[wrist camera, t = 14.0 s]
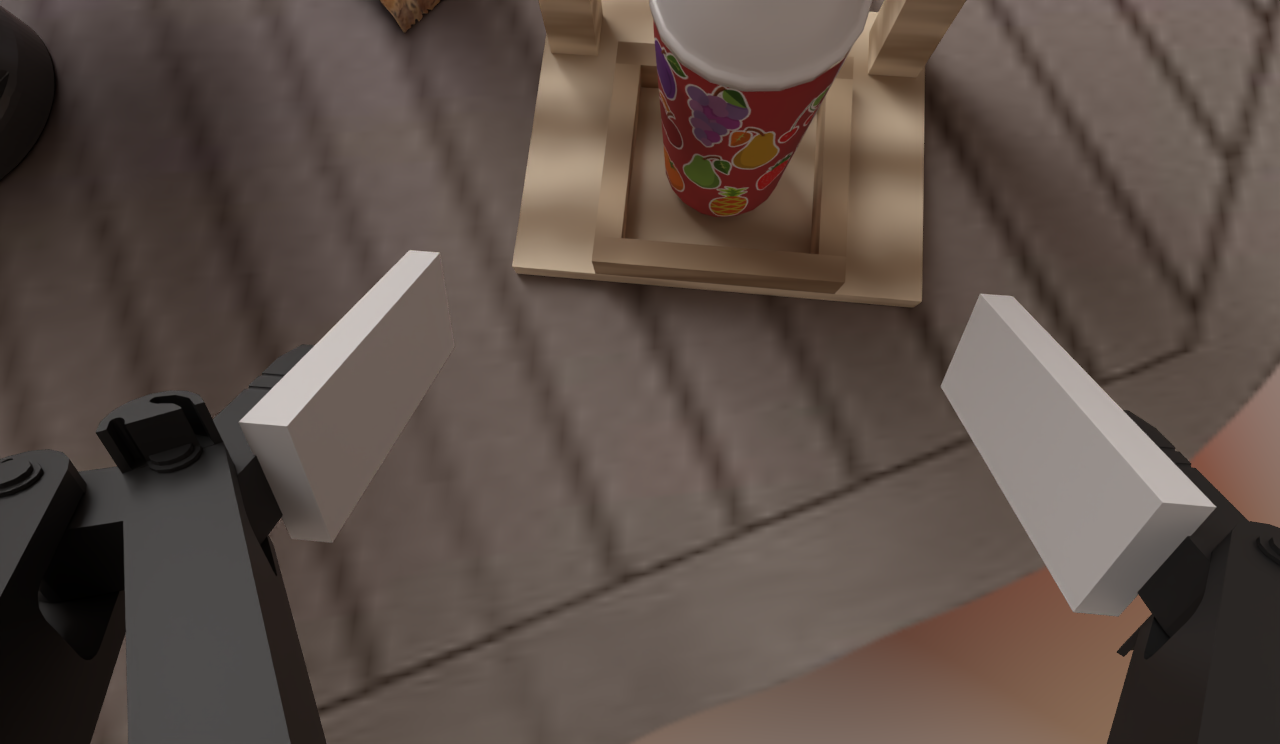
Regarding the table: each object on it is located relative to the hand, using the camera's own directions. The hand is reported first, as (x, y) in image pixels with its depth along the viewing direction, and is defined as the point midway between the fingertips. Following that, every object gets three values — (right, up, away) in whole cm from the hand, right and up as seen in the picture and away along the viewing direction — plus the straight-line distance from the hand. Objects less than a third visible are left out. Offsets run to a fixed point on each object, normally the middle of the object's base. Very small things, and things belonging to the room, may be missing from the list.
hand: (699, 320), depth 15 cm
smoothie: (+3, +11, +21) cm, 24 cm away
